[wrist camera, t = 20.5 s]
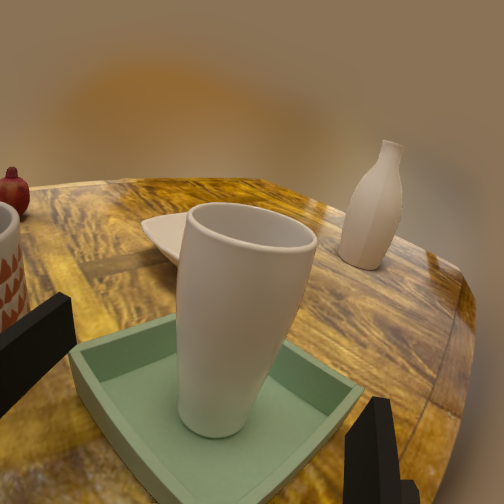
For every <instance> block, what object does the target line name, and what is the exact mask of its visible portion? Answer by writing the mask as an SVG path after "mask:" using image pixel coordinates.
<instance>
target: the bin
mask: <svg viewBox="0 0 504 504" xmlns="http://www.w3.org/2000/svg"><path fill="white" fill-rule="evenodd" d="M68 357H69V362H70V366H71V371H72V375H73V379H74V383H75V387H76V391H77V393H78V395H79V397H80V398H81V400H82V402H83V403H84V405H85V407H86V408H87V410H88V412H89V413H90V415H91V416H92V418H93V419H94V421H95V423H96V424H97V426H98V427H99V429H100V430H101V432H102V433H103V435H104V436H105V437H106V439H107V440H108V442H109V443H110V444H111V446H112V447H113V449H114V450H115V451H116V453H117V454H118V455H119V457H120V458H121V459H122V461H123V462H124V463H125V465H126V466H127V467H128V468H129V470H130V471H131V472H132V473H133V475H134V476H135V477H136V478H137V479H138V481H139V482H140V483H141V484H142V485H143V487H144V488H145V489H146V490H147V491H148V492H149V493H150V495H151V496H152V497H153V498H154V499H155V500H156V501H157V502H158V503H159V504H266V503H267V502H268V501H270V500H271V499H272V498H273V497H274V496H275V495H276V494H277V493H278V492H279V491H280V490H281V489H283V488H284V487H285V486H286V485H287V484H288V483H289V482H290V481H291V480H292V479H293V478H294V477H295V476H296V475H297V474H298V473H299V472H300V471H301V470H302V469H303V468H304V467H305V466H306V465H307V463H308V462H309V461H310V460H311V459H312V458H313V457H314V456H315V455H316V454H317V453H318V452H319V451H320V449H321V448H322V447H323V446H324V445H325V444H326V443H327V442H328V440H329V439H330V438H331V437H332V436H333V435H334V433H335V432H336V431H337V430H338V429H339V427H340V426H341V425H342V423H343V422H344V420H345V419H346V418H347V416H348V415H349V413H350V412H351V410H352V409H353V407H354V405H355V404H356V402H357V401H358V399H359V398H360V396H361V394H362V393H363V391H364V390H365V388H363V387H361V386H360V385H358V384H356V383H355V382H353V381H351V380H350V379H348V378H346V377H345V376H343V375H342V374H340V373H338V372H337V371H335V370H334V369H332V368H330V367H329V366H327V365H326V364H324V363H322V362H321V361H319V360H318V359H316V358H314V357H313V356H311V355H310V354H308V353H307V352H305V351H304V350H302V349H300V348H299V347H297V346H296V345H294V344H293V343H291V342H290V341H288V340H287V339H285V341H284V343H283V345H282V347H281V349H280V351H279V353H278V356H277V358H276V360H275V362H274V364H273V366H272V368H271V370H270V372H269V374H268V376H267V378H266V380H265V382H264V384H263V386H262V388H261V390H260V392H259V394H258V396H257V398H256V400H255V402H254V405H253V407H252V409H251V411H250V414H249V417H248V420H247V422H246V423H245V425H244V426H243V427H242V429H240V430H239V431H238V432H236V433H235V434H233V435H230V436H227V437H223V438H210V437H205V436H202V435H199V434H197V433H195V432H193V431H192V430H190V429H189V428H188V427H187V426H186V425H185V424H184V423H183V422H182V420H181V419H180V417H179V414H178V410H177V396H178V384H177V351H176V313H173V314H170V315H167V316H164V317H161V318H158V319H155V320H152V321H149V322H146V323H143V324H140V325H137V326H134V327H130V328H127V329H124V330H121V331H118V332H115V333H112V334H108V335H105V336H102V337H99V338H96V339H92V340H89V341H86V342H83V343H79V344H77V345H76V346H75V347H74V348H73V349H71V350H70V351H69V352H68Z"/></svg>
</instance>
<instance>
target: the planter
mask: <svg viewBox="0 0 504 504" xmlns="http://www.w3.org/2000/svg"><path fill="white" fill-rule="evenodd" d="M29 312H31V310H30V305H29V299H28V294H27V287H26V281H25V273H24V266H23V257H22V246H21V233H20V219H19V214H18V212H17V211H16V210H15V209H14V208H13V207H12V206H10V205H8V204H6V203H4V202H0V333H2V332H3V331H4V330H6V329H7V328H8V327H10V326H11V325H13V324H14V323H15V322H17V321H18V320H19V319H21V318H22V317H24V316H25V315H26V314H28V313H29Z"/></svg>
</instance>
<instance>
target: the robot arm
mask: <svg viewBox="0 0 504 504" xmlns="http://www.w3.org/2000/svg"><path fill="white" fill-rule="evenodd" d="M76 345H77V341H76V335H75V328H74V321H73V313H72V304H71V297H69V296H67V295H65V294H63V293H61V292H58V293H57V294H55V295H54V296H52V297H51V298H49V299H48V300H47V301H45V302H44V303H42V304H41V305H39V306H38V307H36V308H35V309H34V310H32V311H31V312H29V313H28V314H26V315H25V316H24V317H22V318H21V319H19V320H18V321H17V322H15V323H14V324H13V325H11V326H10V327H8V328H7V329H6V330H4V331H3V332H2V333H0V418H1V417H2V416H3V415H4V414H5V413H6V412H7V411H8V410H9V409H10V408H11V407H12V406H13V405H14V404H15V403H16V402H17V401H18V400H19V399H20V398H21V397H22V396H23V395H24V394H25V393H26V392H27V391H28V390H29V389H30V388H31V387H32V386H34V385H35V384H36V383H37V382H38V381H39V380H40V379H41V378H42V377H43V376H44V375H45V374H46V373H47V372H48V371H49V370H50V369H51V368H52V367H53V366H54V365H55V364H56V363H58V362H59V361H60V360H61V359H62V358H63V357H64V356H65V355H66V354H67V353H68V352H69V351H70V350H71V349H73V348H74V347H75V346H76ZM343 504H420V498H419V491H418V489H417V487H416V485H415V483H414V481H413V480H400V471H399V462H398V453H397V445H396V437H395V430H394V423H393V417H392V410H391V404H390V399H386V398H380V397H374V396H373V397H372V398H371V400H370V401H369V403H368V404H367V406H366V407H365V409H364V410H363V411H362V413H361V414H360V416H359V417H358V419H357V420H356V421H355V423H354V424H353V426H352V427H351V428H350V430H349V431H348V433H347V434H346V435H345V461H344V487H343Z"/></svg>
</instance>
